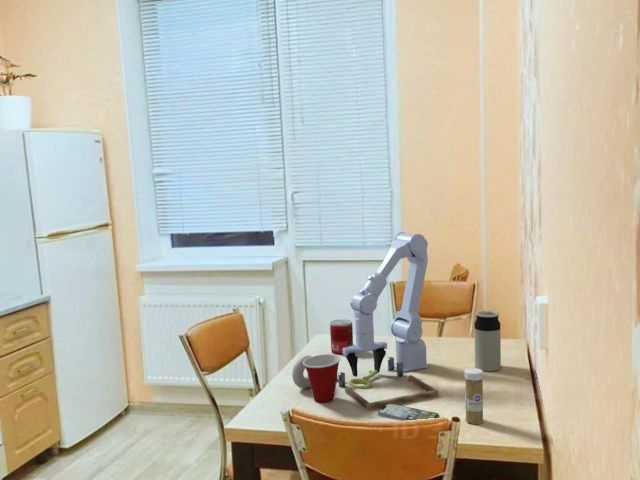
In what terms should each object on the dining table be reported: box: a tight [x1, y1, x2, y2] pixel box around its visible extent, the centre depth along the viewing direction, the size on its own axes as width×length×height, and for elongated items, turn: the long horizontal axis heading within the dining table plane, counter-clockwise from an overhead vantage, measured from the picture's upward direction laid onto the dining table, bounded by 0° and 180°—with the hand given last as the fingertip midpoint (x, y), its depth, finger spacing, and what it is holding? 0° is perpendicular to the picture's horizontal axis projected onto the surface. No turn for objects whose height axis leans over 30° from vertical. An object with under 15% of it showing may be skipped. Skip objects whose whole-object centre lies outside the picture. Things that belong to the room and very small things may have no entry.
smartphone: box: [377, 403, 440, 421], centre depth 162 cm, size 7×1×15 cm
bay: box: [344, 374, 439, 411], centre depth 177 cm, size 22×15×2 cm
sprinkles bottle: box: [464, 367, 484, 425], centre depth 155 cm, size 5×5×14 cm
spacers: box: [337, 356, 404, 388], centre depth 191 cm, size 22×8×4 cm, turn 111°
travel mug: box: [473, 310, 502, 372], centre depth 195 cm, size 8×8×18 cm
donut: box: [291, 354, 313, 389], centre depth 185 cm, size 10×4×10 cm, turn 135°
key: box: [348, 369, 379, 390], centre depth 188 cm, size 7×12×2 cm, turn 162°
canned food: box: [329, 319, 354, 356], centre depth 219 cm, size 8×8×11 cm
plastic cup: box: [303, 353, 341, 404], centre depth 175 cm, size 11×11×12 cm
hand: (366, 373), depth 192 cm, fingers open, 7 cm apart
